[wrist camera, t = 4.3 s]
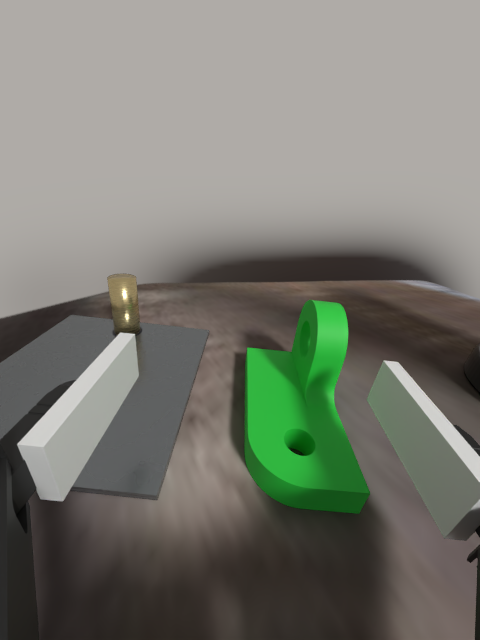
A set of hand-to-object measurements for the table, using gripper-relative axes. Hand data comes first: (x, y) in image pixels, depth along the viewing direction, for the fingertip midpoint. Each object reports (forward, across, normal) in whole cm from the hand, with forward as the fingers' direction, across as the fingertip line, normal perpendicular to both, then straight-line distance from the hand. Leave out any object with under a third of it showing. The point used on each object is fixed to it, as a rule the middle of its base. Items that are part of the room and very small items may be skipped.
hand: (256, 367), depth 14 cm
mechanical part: (+2, +3, -6) cm, 7 cm away
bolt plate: (+5, -12, -6) cm, 14 cm away
